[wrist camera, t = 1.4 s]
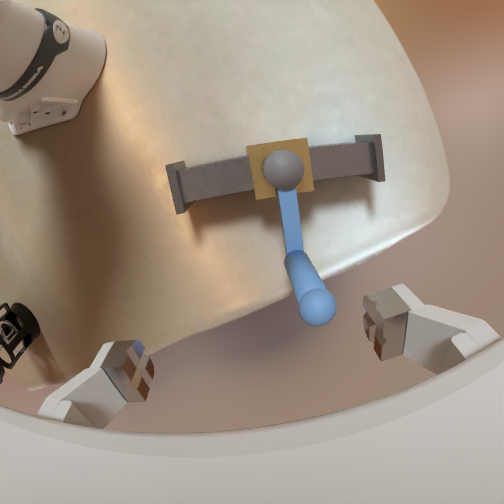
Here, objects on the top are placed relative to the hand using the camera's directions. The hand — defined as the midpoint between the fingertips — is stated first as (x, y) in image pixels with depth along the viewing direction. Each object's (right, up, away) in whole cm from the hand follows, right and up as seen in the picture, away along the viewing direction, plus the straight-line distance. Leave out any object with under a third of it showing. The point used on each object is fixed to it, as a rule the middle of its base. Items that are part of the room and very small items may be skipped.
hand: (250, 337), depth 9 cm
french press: (-51, -12, +35) cm, 63 cm away
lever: (+4, +8, +23) cm, 25 cm away
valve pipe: (+3, +14, +27) cm, 31 cm away
